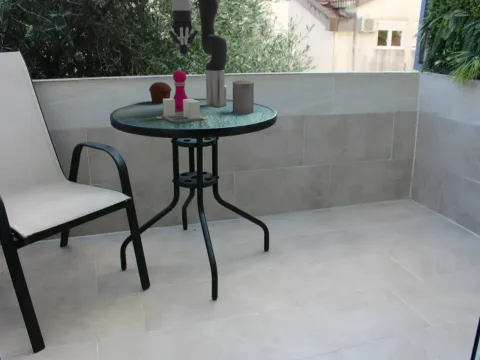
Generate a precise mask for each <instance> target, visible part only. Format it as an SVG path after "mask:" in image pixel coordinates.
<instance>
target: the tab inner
mask: <svg viewBox="0 0 480 360" xmlns="http://www.w3.org/2000/svg"><path fill="white" fill-rule="evenodd" d="M173 98H174V97H172V98H171V97H170V98H169V99H163V104H162V105H163V114H164V116H175V113H176V111H175V99H173Z"/></svg>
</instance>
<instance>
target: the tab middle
mask: <svg viewBox="0 0 480 360" xmlns="http://www.w3.org/2000/svg"><path fill="white" fill-rule="evenodd" d="M187 101H195V99H193V98H188V99H183V111H182V113H184V117H188V105H187Z"/></svg>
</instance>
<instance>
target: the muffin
mask: <svg viewBox="0 0 480 360" xmlns="http://www.w3.org/2000/svg"><path fill="white" fill-rule="evenodd" d="M148 90H149V92H150V98H151V102H152V104H156V103H160V104H161V103H163V99H169V98H171V92H172V88H171V86H170V85H169V84H168V83H167V82H164V81H159V82H154V83H153V84H151V85H150V87H149V88H148Z"/></svg>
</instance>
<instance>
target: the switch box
mask: <svg viewBox="0 0 480 360" xmlns="http://www.w3.org/2000/svg"><path fill="white" fill-rule="evenodd" d="M153 118H154V119H155V118H156V119H157V120H162V119H164V120H165V121H167V122H168V121H169V123H172V124H178V123H186V122H187V123H188V122H199V121H204V120H210V119H208V117H205V116H203V115H201V114H200V118H195V119H188V117H184V113H183V112H177V113H176V112H175V116H164V113H163V114H160V116H155V117H153Z"/></svg>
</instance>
